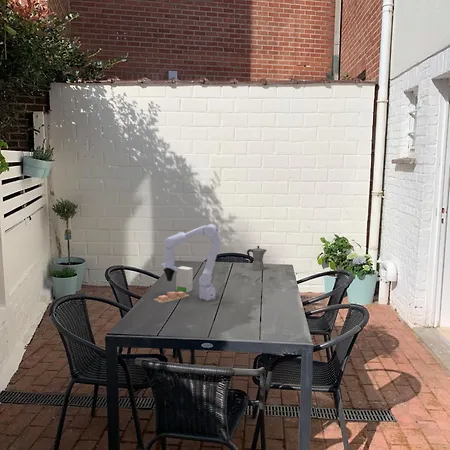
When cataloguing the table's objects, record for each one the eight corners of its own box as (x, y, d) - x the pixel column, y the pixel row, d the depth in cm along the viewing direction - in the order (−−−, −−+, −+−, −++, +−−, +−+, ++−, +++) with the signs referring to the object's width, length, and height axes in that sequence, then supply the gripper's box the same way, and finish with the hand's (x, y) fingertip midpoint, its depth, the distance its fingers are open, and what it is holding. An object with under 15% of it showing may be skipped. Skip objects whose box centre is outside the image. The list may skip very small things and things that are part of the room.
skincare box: (175, 292, 291) (175, 267, 289) (181, 290, 297) (181, 265, 295) (187, 294, 287) (187, 269, 285) (193, 292, 293) (193, 267, 291)
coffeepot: (264, 267, 362) (264, 244, 360) (268, 270, 353) (268, 246, 351) (244, 268, 359) (245, 245, 356) (248, 271, 350) (248, 247, 347)
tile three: (168, 302, 271) (168, 296, 270) (162, 303, 268) (162, 297, 268) (164, 300, 274) (164, 294, 273) (158, 302, 271) (158, 295, 270)
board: (189, 298, 279) (189, 295, 278) (161, 305, 265) (161, 302, 265) (181, 296, 284) (181, 292, 284) (153, 302, 271) (153, 299, 271)
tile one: (185, 298, 279) (185, 292, 278) (179, 299, 276) (179, 293, 276) (180, 296, 282) (180, 290, 281) (175, 298, 279) (175, 292, 278)
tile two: (176, 298, 275) (176, 292, 274) (171, 299, 272) (171, 293, 271) (172, 297, 278) (172, 291, 277) (167, 298, 275) (166, 292, 274)
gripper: (156, 256, 279) (156, 279, 281) (171, 260, 269) (171, 284, 271) (166, 255, 284) (166, 277, 286) (181, 259, 273) (181, 282, 275)
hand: (169, 280), depth 278 cm, fingers closed
